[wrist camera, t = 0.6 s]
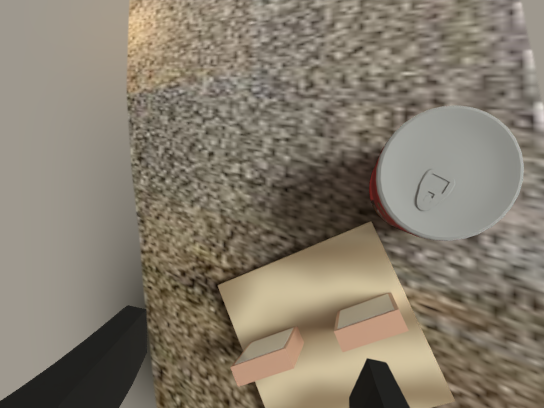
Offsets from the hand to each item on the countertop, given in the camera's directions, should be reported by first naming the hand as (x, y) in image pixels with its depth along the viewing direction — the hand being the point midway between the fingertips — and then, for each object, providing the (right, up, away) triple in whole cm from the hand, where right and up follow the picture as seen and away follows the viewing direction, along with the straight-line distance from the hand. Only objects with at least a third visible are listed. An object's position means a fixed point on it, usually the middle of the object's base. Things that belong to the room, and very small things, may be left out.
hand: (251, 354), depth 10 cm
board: (+6, -7, +20) cm, 22 cm away
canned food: (+14, +6, +19) cm, 24 cm away
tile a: (+9, -4, +18) cm, 20 cm away
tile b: (+1, -8, +20) cm, 21 cm away
